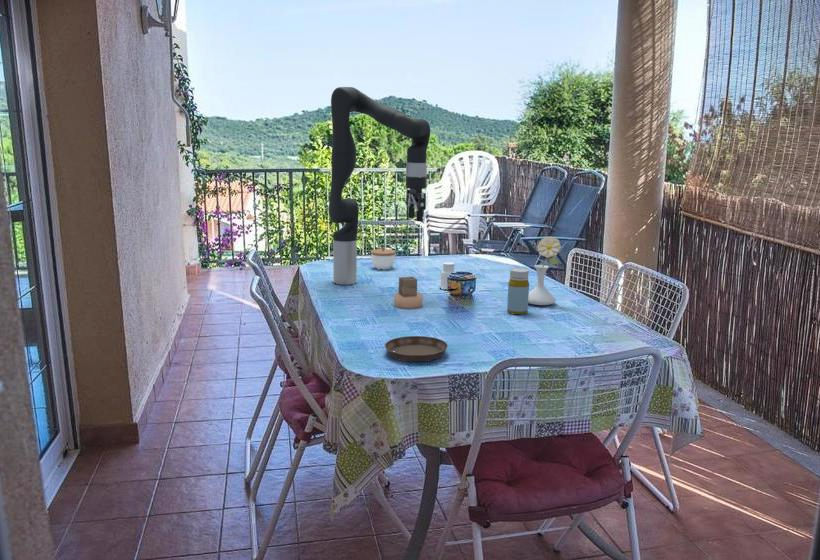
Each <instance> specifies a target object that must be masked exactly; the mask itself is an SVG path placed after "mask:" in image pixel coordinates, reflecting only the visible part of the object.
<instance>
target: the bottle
mask: <svg viewBox="0 0 820 560" xmlns="http://www.w3.org/2000/svg"><path fill="white" fill-rule="evenodd" d="M509 271H510V272H509V280H508V283H507V305H506V306H507V307H506V311H507V312H508V314H510V313H513V314H512V315H514V314H524V315H526V314H527V313H528V312H529V311H528V309H529V303H528V296H529V292H530V282H529V272H530V271H529V269H527V268H523V267H521V268H520V267H514V268H511V269H510V270H509ZM525 313H526V314H525Z"/></svg>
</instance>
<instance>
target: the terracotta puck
mask: <svg viewBox="0 0 820 560" xmlns="http://www.w3.org/2000/svg"><path fill="white" fill-rule="evenodd" d="M423 298H424V295H423V294H422V293H420V292H417V296H412V297H403V296H401V295H400V294H399V291H397V292H395V293H394V295H393V302H394V303H393V304H394V307H395V308H398V309H403V310H404V309H406V310H411V309H412V310H413V309H415V310H416V309H420V308H422V307H423V301H424V299H423Z"/></svg>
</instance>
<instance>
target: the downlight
mask: <svg viewBox="0 0 820 560" xmlns="http://www.w3.org/2000/svg"><path fill="white" fill-rule="evenodd" d="M451 273H456V274H457V271H455V262H443V263H442V270H441V272H440V286H441V289H440V290H445V289H447V277H448V276H449V275H450V274H451ZM443 288H444V289H443Z"/></svg>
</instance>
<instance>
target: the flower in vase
mask: <svg viewBox="0 0 820 560" xmlns="http://www.w3.org/2000/svg"><path fill="white" fill-rule="evenodd" d="M560 242H561V241H560V240H559V239H558V238H555V236H553V237H552V236H551V235H550V236H546V237H544V238H541V240H540V241H539V242H538V244H537V247H536V248H537V251H538V254H539V255H540V256H542V257H545V258H547V260H546V261H545V262H544V261H543V260H542V259H540V258H538V257H537V256H535V258H536V259H537V260H539V261H541V262H542V263H543V264H536V265H534V268H535V270H536V272H537V274H536V275H537V284H536V286H535V287H534V288H533V289H531V290H529V296H528V304H529V305H530V304H531V305H535V306H548V305H549V306H550V305H553V304H554V303H555V302H556V301H557V299H556V297H555V296H554V295H553V294H552V293H551V292H550V291H549V290H548V289H547V288H546V287H545V276H546V272H547V270H548V269H549V268H550V266H549V265H546V264H547V262H549V264H550V265H553V266H554V265H559V264H560V262H559V261H558V259H557V258H555V256H557V255H558V253H559V252H560V250H561V248H562V246H561V243H560Z"/></svg>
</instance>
